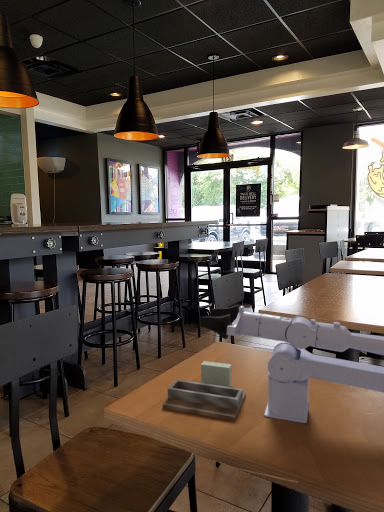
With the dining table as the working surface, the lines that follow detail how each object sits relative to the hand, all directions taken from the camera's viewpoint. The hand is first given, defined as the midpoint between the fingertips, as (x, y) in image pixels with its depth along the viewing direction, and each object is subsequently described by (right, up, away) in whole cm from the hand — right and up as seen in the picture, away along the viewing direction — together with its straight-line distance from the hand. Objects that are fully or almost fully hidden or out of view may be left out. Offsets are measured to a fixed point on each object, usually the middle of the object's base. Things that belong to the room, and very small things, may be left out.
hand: (206, 316), depth 93 cm
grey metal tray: (0, -22, 0) cm, 21 cm away
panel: (+3, -21, +10) cm, 23 cm away
